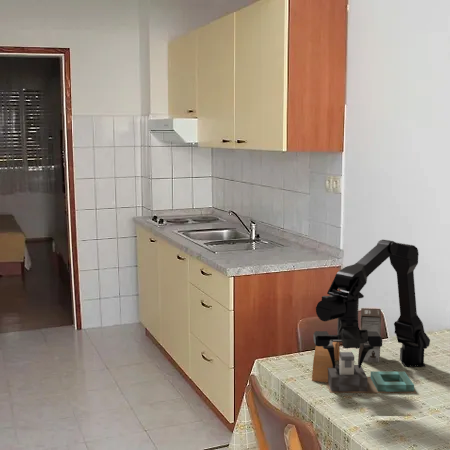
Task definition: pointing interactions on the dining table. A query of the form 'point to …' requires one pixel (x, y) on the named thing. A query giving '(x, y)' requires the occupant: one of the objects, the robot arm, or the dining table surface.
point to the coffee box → (371, 323)
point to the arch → (323, 362)
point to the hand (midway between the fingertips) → (346, 367)
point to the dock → (368, 382)
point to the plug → (346, 363)
